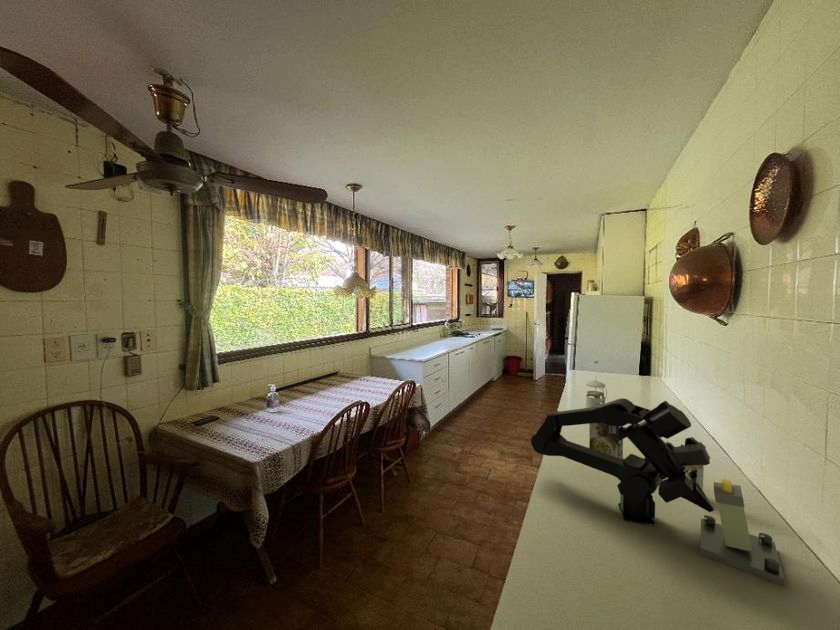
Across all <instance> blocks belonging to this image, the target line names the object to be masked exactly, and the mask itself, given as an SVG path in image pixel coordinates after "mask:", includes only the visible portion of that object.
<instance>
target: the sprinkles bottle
mask: <svg viewBox="0 0 840 630" xmlns="http://www.w3.org/2000/svg"><path fill="white" fill-rule="evenodd" d="M688 469H689V470H690V471H691V472H692V471H694V470H697V471H698V474H697V481H698V483H699V485H700V487H701V488H702V490H703V488H704V465H691V466H686V470H688ZM703 491H704V490H703Z"/></svg>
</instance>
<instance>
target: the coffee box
mask: <svg viewBox="0 0 840 630" xmlns="http://www.w3.org/2000/svg"><path fill="white" fill-rule="evenodd" d="M588 426H589V427H588V428H589V429H588V430H589V431H588V432H589V433H588V434H589V437H588V438H589V444H588V446H589V447H588V448H590V449H593V450H596V451H599V452H602V453H605V454H608V455H611V456H614V457H617V458H621V459H624V439H623V440H621V441H619V440H618V429H619V428H620V427H624V426H609V425H604V424H600V423H591V424H589V425H588Z"/></svg>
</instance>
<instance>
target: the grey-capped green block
mask: <svg viewBox="0 0 840 630" xmlns="http://www.w3.org/2000/svg"><path fill="white" fill-rule="evenodd" d="M713 494H714V499H715V503H717V508H718V513H719V518H720V523H721V524H720V525H722V529H723V534H724V539H725V544H726V546H729V547H734V548H738V549H743V550H747V551H751V552H752V547H751V542H750V536H749V534H750V531H749V527H748V521H747V518H746V513H745V502H744V498H743V497H744V496H743V492H742V486H741V485H740V484H739V485H738V484H733V483H732V482H731V480H729V479H726V478H722V479H721V482H716V481H713Z"/></svg>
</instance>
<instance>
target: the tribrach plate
mask: <svg viewBox="0 0 840 630" xmlns="http://www.w3.org/2000/svg"><path fill="white" fill-rule="evenodd" d="M749 536H750V542H751V547H752V552H751V551H747V550H743V549H738V548H734V547H729V546H726V544H725V539H724V534H723V529H722V524H720V523H716V519H715V517H713V516H710V515H708V514H707V515H706V514H705V515H704V516H703V518H700V555H701V556H703V557H706V558H708V559H711V560H714V561H717V562H719V563H721V564H725V565H727V566H730V567H732V568H735V569H738V570H741V571H743V572H745V573H749V574H751V575H753V576H755V577H758V578H761V579H764V580H767V581H769V582H772V583H773V584H777V585H779V586H783V587H785V575H784V571H783V568H782V564H781V561H780V557H779V554H778V551H777V546H776V544H775V541H773V537H772V536H770V535H769V534H767V533H764V532H759V533H758V536H757V535H754V534H751V533H749Z"/></svg>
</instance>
